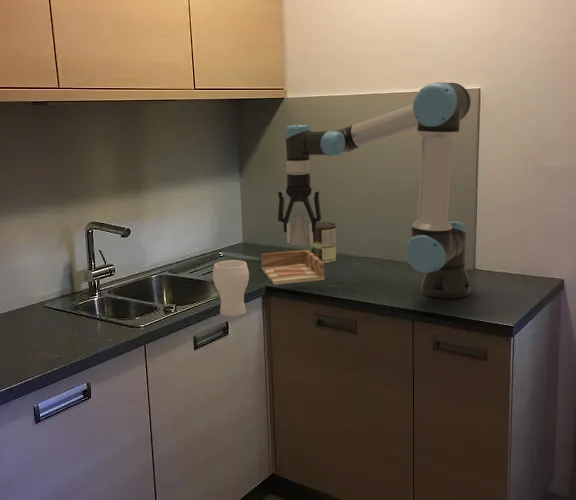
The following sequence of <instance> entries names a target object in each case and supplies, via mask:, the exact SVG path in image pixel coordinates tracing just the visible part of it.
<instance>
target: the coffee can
mask: <svg viewBox="0 0 576 500" xmlns="http://www.w3.org/2000/svg"><path fill="white" fill-rule="evenodd" d="M336 227H337V224H336V223H334V222H327V221H326V222H325V221H323V222H320V221H318V222H316V232H315V233H313V242H312V243H310V244H309V245H310V247H309V248H310V249H309V251H310V252H311V253H313V254H314V255H315V256H316V257H318V258H319V259H320V260H321V261H323V262H324V264H327V263H333V262H335V261H337V242H336V241H337V240H336V239H337V237H336V234H337V233H336V232H337V230H336Z"/></svg>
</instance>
